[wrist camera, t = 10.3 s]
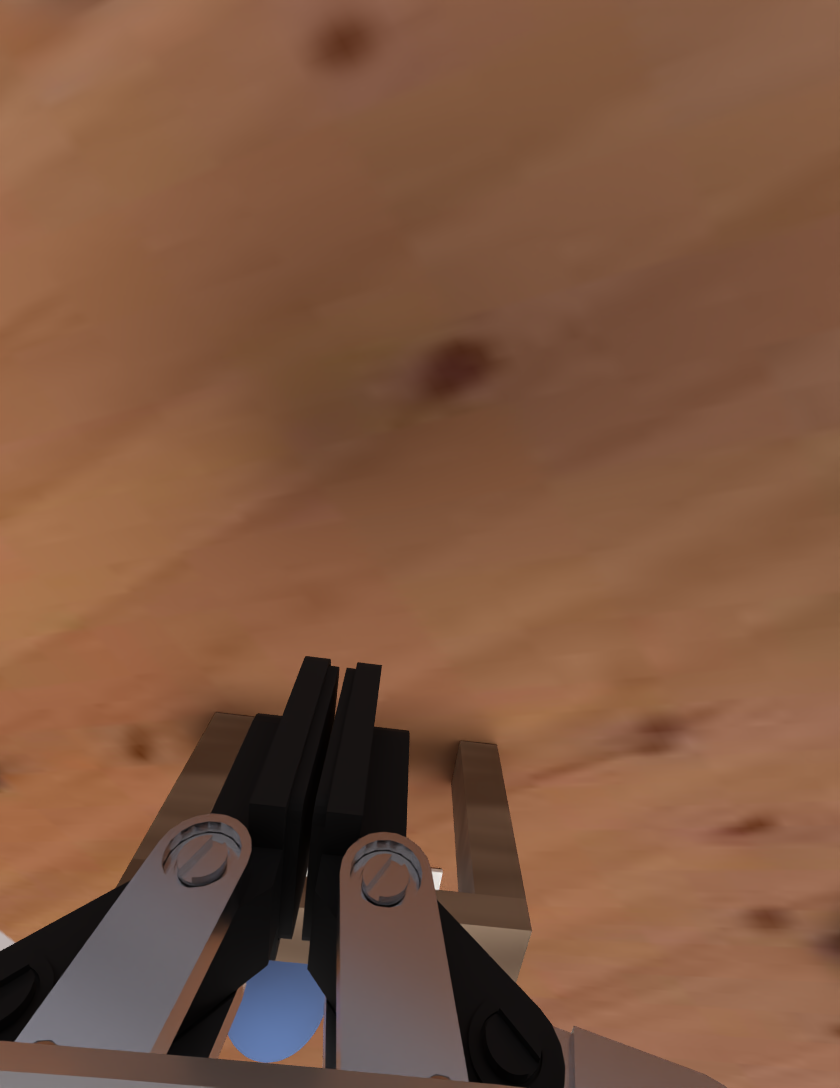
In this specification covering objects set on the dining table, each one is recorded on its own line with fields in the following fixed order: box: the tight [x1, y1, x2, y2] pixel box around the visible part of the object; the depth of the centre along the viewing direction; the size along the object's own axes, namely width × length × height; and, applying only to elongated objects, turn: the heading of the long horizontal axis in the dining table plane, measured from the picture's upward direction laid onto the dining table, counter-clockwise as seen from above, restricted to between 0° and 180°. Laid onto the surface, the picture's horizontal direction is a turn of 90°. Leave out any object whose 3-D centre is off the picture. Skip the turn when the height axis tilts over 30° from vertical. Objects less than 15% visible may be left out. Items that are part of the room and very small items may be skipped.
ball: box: [228, 960, 325, 1063], centre depth 31 cm, size 6×6×6 cm
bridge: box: [116, 713, 532, 983], centre depth 24 cm, size 3×15×10 cm, turn 82°
